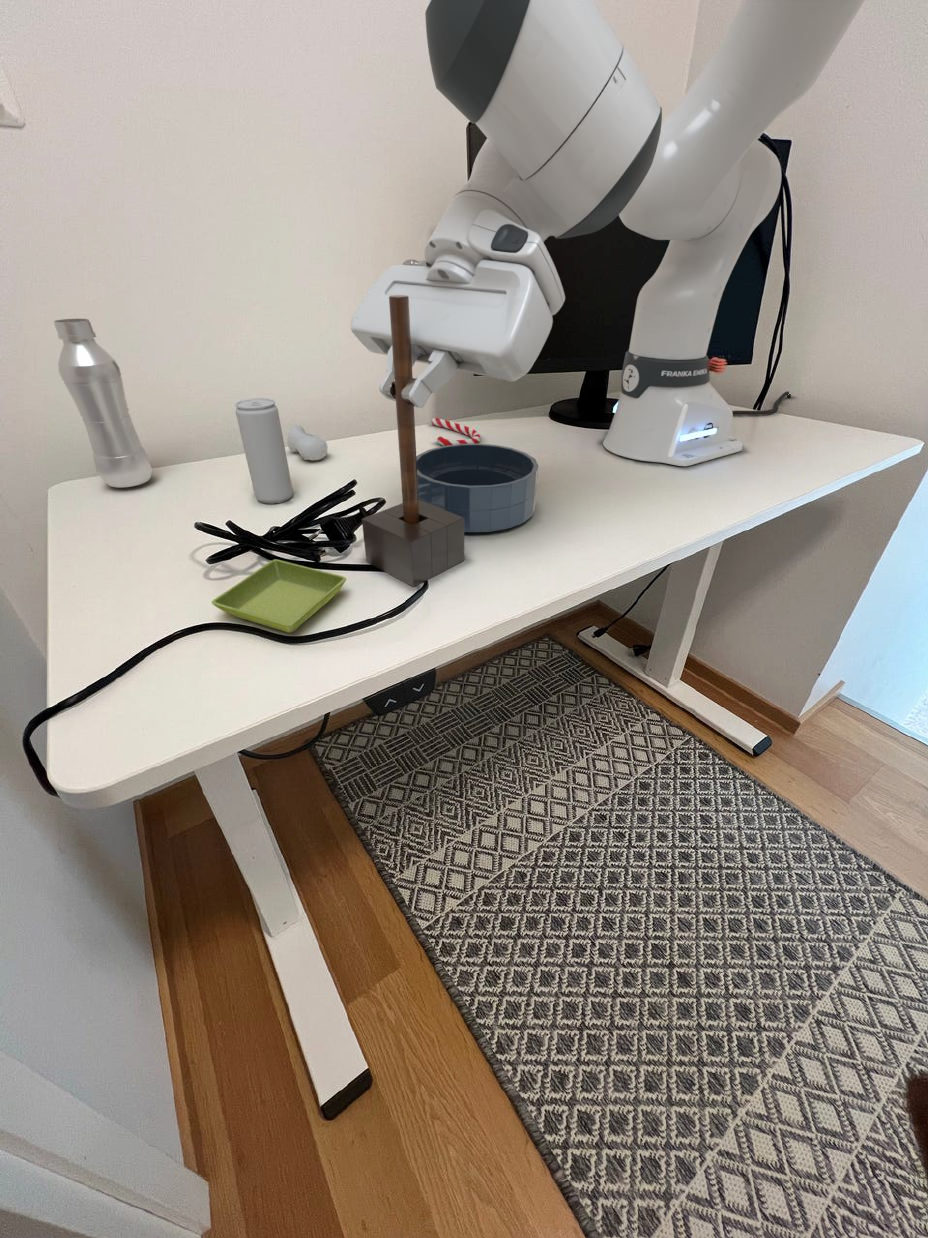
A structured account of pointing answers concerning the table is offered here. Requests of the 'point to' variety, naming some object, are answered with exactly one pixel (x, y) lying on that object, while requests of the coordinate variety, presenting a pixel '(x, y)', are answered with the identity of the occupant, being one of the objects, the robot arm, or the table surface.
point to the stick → (404, 405)
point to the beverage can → (264, 449)
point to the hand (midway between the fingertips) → (399, 399)
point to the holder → (414, 542)
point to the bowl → (479, 484)
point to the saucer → (280, 595)
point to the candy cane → (458, 428)
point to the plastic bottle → (101, 405)
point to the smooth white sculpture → (306, 444)
